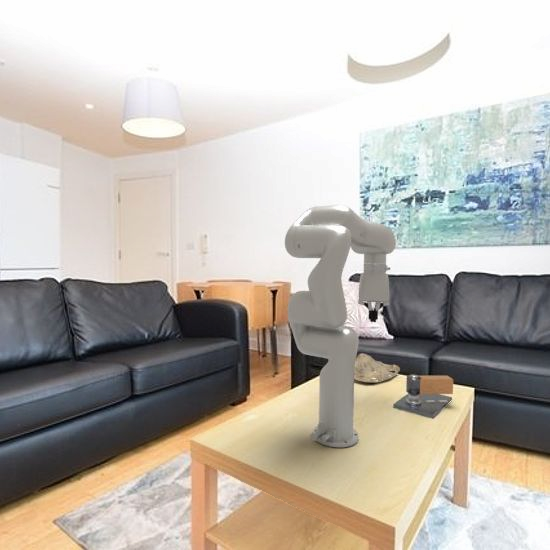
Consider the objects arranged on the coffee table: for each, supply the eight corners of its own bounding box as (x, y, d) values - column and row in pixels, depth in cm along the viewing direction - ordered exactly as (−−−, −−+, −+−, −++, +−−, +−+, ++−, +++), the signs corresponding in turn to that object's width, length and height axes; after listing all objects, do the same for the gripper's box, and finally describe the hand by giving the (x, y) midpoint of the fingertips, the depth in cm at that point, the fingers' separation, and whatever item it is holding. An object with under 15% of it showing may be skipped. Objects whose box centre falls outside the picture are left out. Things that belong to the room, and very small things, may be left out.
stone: (370, 344, 178) (402, 346, 169) (373, 364, 180) (405, 367, 170) (342, 370, 155) (377, 374, 146) (346, 394, 156) (381, 399, 147)
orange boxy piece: (409, 394, 127) (409, 378, 127) (404, 389, 132) (404, 373, 132) (453, 394, 128) (453, 377, 128) (446, 389, 133) (447, 373, 132)
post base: (434, 418, 120) (434, 404, 120) (393, 407, 128) (393, 394, 128) (453, 400, 135) (453, 388, 135) (415, 391, 144) (415, 379, 143)
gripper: (394, 269, 136) (393, 321, 136) (351, 268, 138) (350, 319, 138) (398, 270, 128) (397, 324, 129) (353, 268, 130) (352, 322, 131)
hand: (372, 321), depth 134 cm, fingers closed
